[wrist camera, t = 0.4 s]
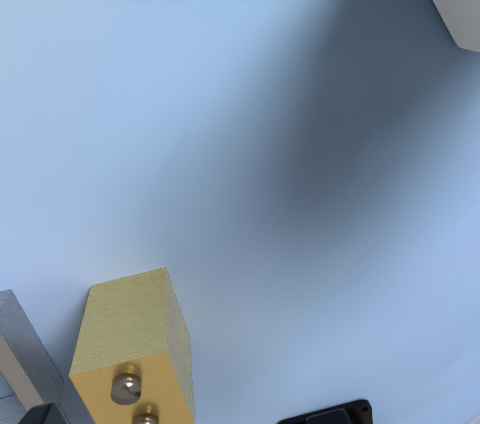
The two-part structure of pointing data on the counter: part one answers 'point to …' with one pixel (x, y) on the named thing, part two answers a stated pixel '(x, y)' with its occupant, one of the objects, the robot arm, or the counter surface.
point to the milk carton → (462, 21)
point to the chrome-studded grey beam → (24, 364)
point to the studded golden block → (134, 353)
